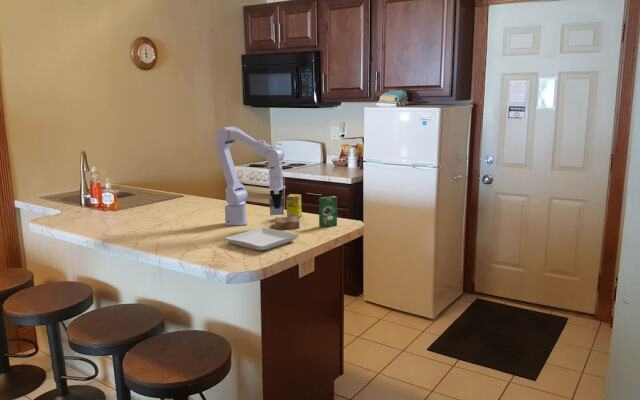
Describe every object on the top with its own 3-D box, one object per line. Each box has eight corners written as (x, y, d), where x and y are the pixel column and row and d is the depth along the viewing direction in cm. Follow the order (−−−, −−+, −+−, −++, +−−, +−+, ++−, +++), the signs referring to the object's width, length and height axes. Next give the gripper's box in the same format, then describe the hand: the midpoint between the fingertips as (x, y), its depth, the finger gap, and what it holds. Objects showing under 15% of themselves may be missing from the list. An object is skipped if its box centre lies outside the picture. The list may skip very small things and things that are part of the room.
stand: (276, 229, 222) (276, 222, 221) (275, 223, 232) (275, 217, 231) (299, 228, 223) (299, 221, 222) (297, 222, 233) (297, 216, 232)
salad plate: (262, 234, 217) (262, 226, 216) (300, 242, 203) (299, 233, 203) (223, 245, 201) (223, 237, 200) (261, 255, 187) (261, 246, 187)
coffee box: (334, 223, 229) (334, 195, 227) (337, 225, 227) (337, 196, 224) (318, 226, 226) (318, 197, 223) (322, 227, 223) (321, 198, 221)
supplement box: (299, 219, 239) (298, 196, 237) (286, 219, 240) (285, 196, 238) (302, 216, 245) (301, 194, 243) (289, 216, 246) (289, 194, 244)
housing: (270, 215, 222) (269, 197, 221) (270, 213, 226) (269, 195, 225) (283, 214, 223) (283, 197, 221) (283, 212, 227) (282, 195, 225)
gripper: (285, 178, 214) (286, 210, 217) (284, 173, 229) (285, 203, 231) (268, 179, 214) (270, 211, 216) (268, 174, 228) (270, 204, 231)
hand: (277, 207), depth 224 cm, fingers closed on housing, 4 cm apart
